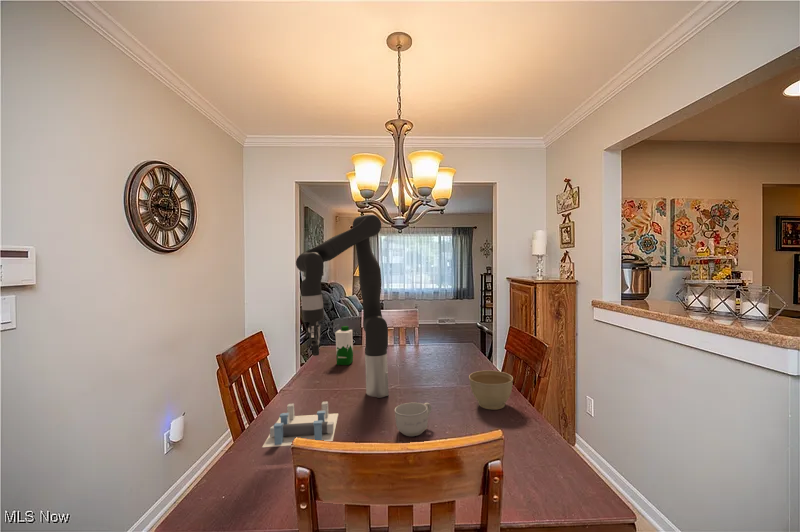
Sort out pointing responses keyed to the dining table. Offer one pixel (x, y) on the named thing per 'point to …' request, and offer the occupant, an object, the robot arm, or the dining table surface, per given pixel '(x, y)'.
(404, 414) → the teacup
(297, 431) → the dark grey dowel
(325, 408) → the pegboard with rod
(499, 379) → the planter bowl
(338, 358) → the milk carton
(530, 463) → the dining table surface
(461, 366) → the dining table surface
